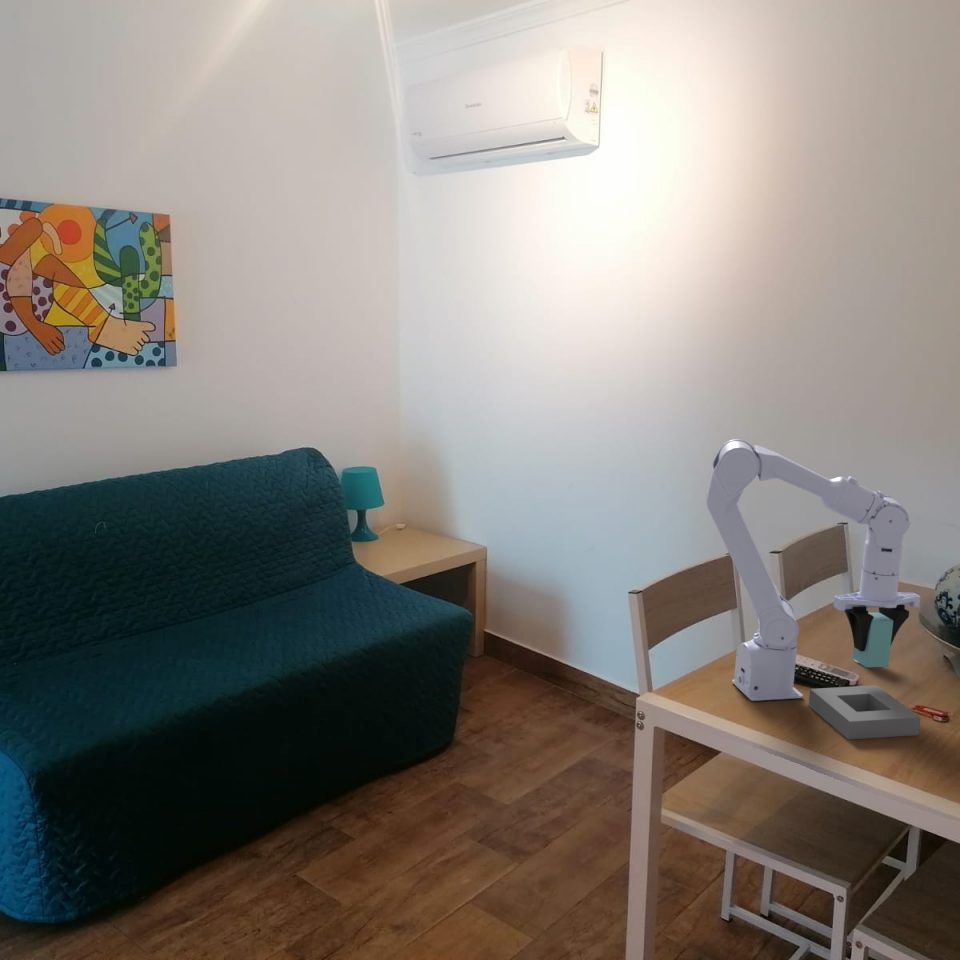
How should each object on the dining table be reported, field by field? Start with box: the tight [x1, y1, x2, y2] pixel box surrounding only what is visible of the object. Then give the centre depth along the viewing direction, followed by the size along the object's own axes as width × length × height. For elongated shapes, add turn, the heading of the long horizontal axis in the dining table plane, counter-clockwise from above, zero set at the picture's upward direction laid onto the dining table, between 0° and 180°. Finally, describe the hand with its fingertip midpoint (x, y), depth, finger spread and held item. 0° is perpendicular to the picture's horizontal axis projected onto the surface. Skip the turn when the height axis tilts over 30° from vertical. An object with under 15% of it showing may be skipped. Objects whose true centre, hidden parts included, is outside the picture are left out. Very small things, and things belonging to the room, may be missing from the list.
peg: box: [852, 611, 893, 668], centre depth 155 cm, size 4×4×8 cm
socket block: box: [808, 684, 921, 740], centre depth 150 cm, size 12×12×3 cm
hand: (871, 648), depth 155 cm, fingers closed on peg, 4 cm apart
